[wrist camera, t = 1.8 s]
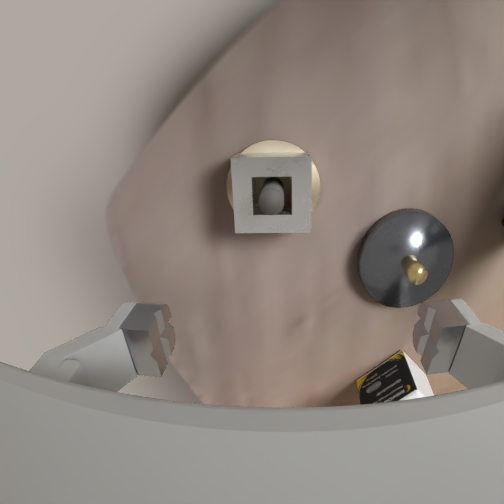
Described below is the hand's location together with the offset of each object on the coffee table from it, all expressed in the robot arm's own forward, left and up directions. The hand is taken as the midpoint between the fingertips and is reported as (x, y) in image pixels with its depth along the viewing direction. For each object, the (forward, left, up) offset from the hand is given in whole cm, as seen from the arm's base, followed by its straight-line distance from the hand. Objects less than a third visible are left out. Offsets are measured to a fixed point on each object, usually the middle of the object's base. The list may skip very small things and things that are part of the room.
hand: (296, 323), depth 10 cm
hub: (+7, +12, -20) cm, 24 cm away
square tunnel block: (0, -1, -19) cm, 19 cm away
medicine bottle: (+24, +14, -20) cm, 34 cm away
